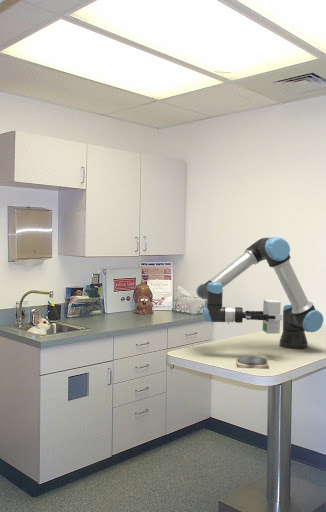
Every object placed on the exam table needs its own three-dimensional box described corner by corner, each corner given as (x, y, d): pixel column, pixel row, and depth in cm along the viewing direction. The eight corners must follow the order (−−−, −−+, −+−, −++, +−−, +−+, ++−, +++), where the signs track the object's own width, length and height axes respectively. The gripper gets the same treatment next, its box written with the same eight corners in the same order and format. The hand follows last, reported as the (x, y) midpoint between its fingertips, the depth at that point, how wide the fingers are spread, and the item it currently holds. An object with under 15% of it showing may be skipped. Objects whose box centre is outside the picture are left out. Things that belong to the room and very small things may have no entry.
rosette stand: (266, 361, 229) (266, 356, 229) (268, 368, 215) (269, 363, 215) (236, 360, 231) (236, 355, 231) (237, 367, 217) (237, 362, 217)
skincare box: (262, 330, 241) (262, 299, 240) (275, 330, 241) (275, 299, 241) (267, 333, 232) (267, 301, 232) (280, 333, 233) (281, 301, 233)
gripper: (234, 319, 250) (278, 320, 247) (234, 325, 228) (283, 327, 225) (234, 304, 249) (278, 305, 247) (234, 310, 228) (283, 311, 225)
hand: (281, 316), depth 236 cm, fingers closed on skincare box, 9 cm apart
